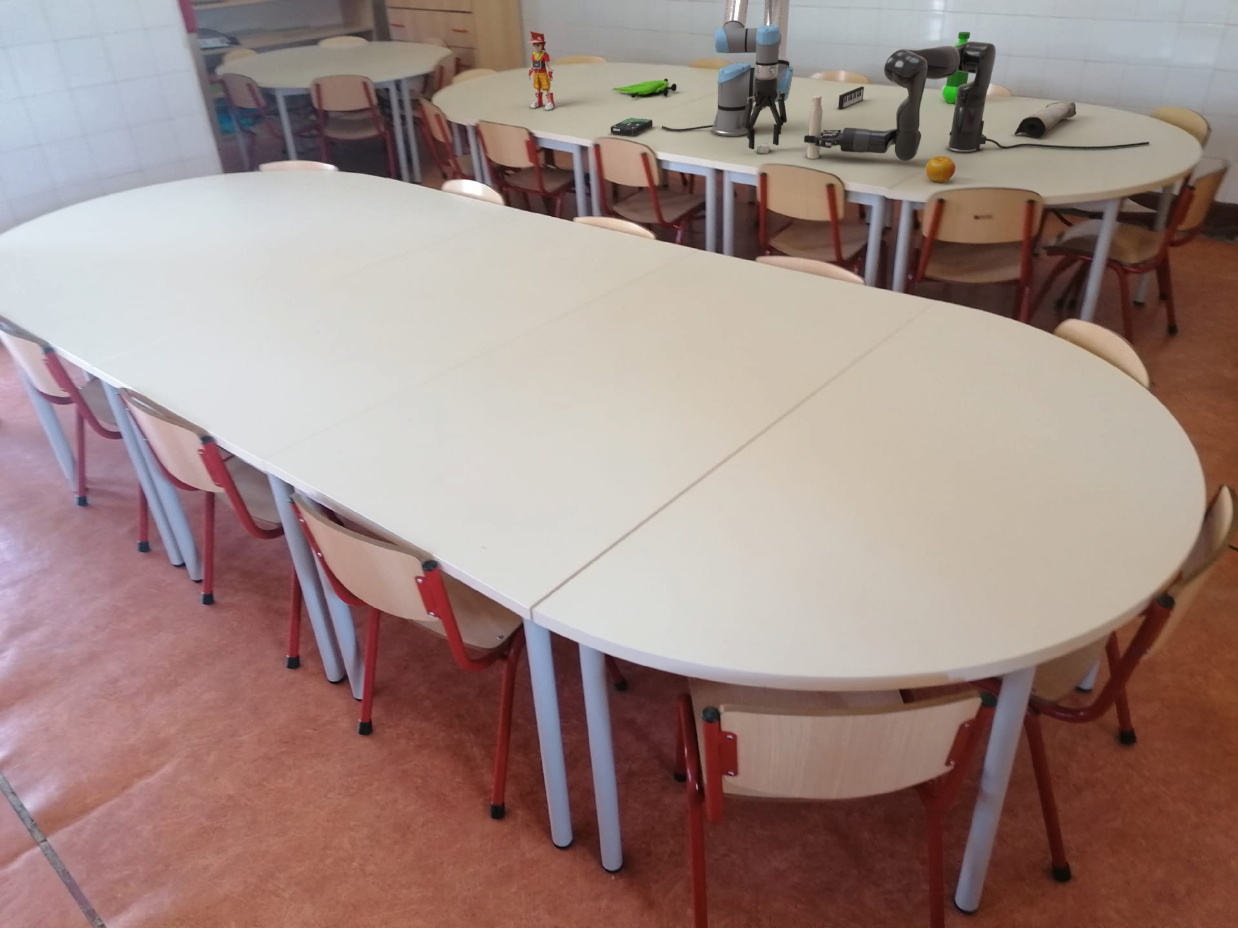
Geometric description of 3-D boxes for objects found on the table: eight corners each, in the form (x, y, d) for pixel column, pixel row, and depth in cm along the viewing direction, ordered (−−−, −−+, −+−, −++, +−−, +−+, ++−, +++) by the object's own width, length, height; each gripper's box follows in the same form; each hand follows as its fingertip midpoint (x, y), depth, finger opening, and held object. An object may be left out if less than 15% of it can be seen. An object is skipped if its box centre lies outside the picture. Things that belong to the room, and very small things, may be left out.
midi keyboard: (840, 109, 355) (842, 95, 352) (838, 108, 355) (839, 95, 353) (863, 99, 365) (864, 86, 362) (860, 99, 366) (861, 86, 363)
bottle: (807, 155, 307) (811, 95, 296) (819, 155, 306) (824, 95, 295) (806, 158, 304) (810, 98, 293) (818, 158, 303) (823, 98, 292)
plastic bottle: (973, 101, 354) (984, 32, 339) (955, 106, 349) (966, 36, 335) (952, 97, 361) (962, 29, 346) (934, 102, 356) (944, 33, 342)
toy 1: (525, 109, 381) (517, 32, 364) (534, 104, 388) (527, 28, 371) (550, 110, 377) (543, 32, 360) (559, 105, 384) (553, 28, 367)
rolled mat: (1043, 106, 330) (1068, 89, 322) (1057, 127, 331) (1082, 110, 323) (1010, 128, 313) (1035, 111, 305) (1024, 150, 313) (1050, 133, 305)
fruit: (919, 172, 274) (936, 148, 271) (921, 174, 282) (937, 151, 279) (942, 187, 273) (960, 164, 270) (943, 189, 281) (960, 166, 278)
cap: (766, 153, 311) (766, 147, 310) (755, 152, 313) (755, 146, 312) (771, 150, 314) (771, 144, 312) (760, 149, 316) (761, 143, 314)
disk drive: (633, 137, 337) (653, 126, 347) (633, 129, 336) (652, 119, 346) (610, 134, 342) (630, 124, 352) (609, 127, 340) (630, 117, 350)
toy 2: (686, 85, 398) (631, 84, 414) (685, 72, 395) (629, 72, 411) (651, 104, 381) (596, 103, 397) (650, 92, 378) (594, 91, 394)
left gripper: (742, 83, 294) (740, 153, 307) (800, 75, 299) (796, 144, 312) (732, 79, 300) (731, 148, 312) (789, 71, 305) (785, 139, 318)
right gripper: (863, 123, 299) (812, 120, 306) (853, 134, 289) (801, 131, 295) (860, 146, 304) (811, 142, 310) (850, 158, 293) (799, 154, 300)
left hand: (763, 146), depth 312 cm, fingers open, 9 cm apart
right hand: (806, 137), depth 303 cm, fingers closed on bottle, 4 cm apart
